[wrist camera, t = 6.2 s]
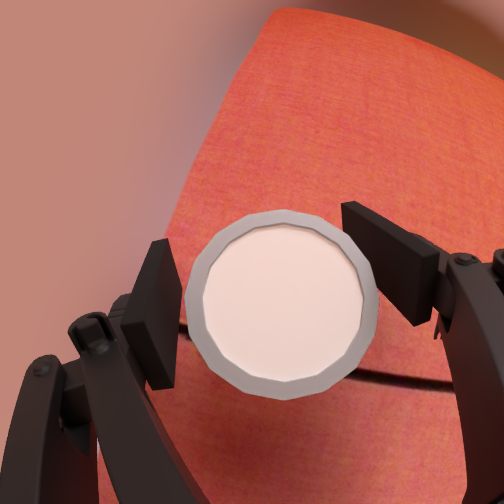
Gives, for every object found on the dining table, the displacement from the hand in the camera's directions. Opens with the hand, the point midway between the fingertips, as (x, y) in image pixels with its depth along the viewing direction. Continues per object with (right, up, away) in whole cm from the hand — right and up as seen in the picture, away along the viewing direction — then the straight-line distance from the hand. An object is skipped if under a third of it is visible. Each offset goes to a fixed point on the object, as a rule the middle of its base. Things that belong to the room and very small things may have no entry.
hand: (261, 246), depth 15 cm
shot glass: (+1, -4, +2) cm, 5 cm away
